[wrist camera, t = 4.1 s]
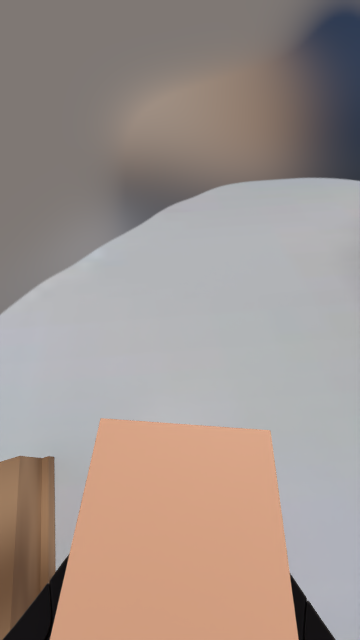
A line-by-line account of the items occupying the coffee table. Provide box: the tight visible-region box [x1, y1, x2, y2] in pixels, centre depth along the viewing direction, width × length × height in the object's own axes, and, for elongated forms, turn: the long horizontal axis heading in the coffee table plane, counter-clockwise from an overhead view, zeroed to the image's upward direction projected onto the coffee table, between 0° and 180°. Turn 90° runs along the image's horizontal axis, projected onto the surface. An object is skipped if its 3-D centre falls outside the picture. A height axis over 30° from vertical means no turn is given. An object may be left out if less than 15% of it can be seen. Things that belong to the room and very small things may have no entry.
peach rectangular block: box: [50, 418, 299, 640], centre depth 8 cm, size 5×2×13 cm, turn 176°
